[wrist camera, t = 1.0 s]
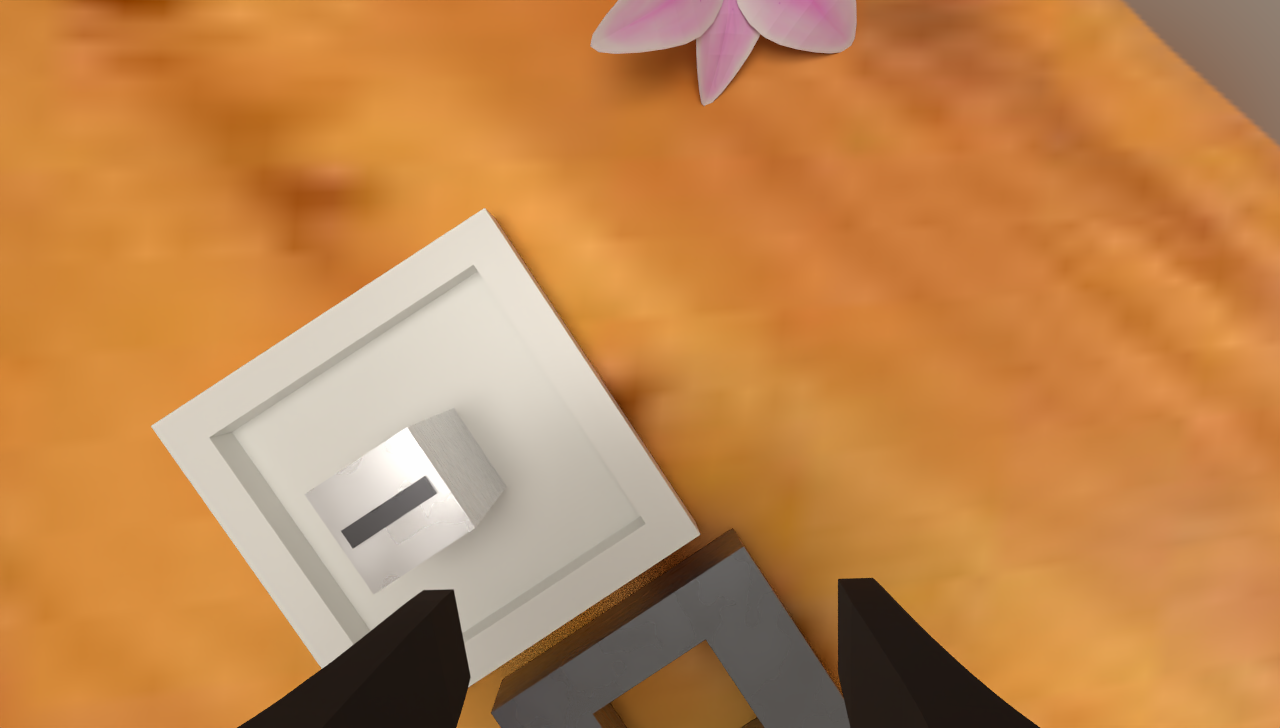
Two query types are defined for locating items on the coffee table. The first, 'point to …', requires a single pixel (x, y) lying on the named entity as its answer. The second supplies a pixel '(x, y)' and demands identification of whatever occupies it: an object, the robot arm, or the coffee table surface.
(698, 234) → the coffee table surface
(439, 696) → the robot arm
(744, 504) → the coffee table surface
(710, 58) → the lily
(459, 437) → the block
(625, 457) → the white square tray
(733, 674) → the metal frame
